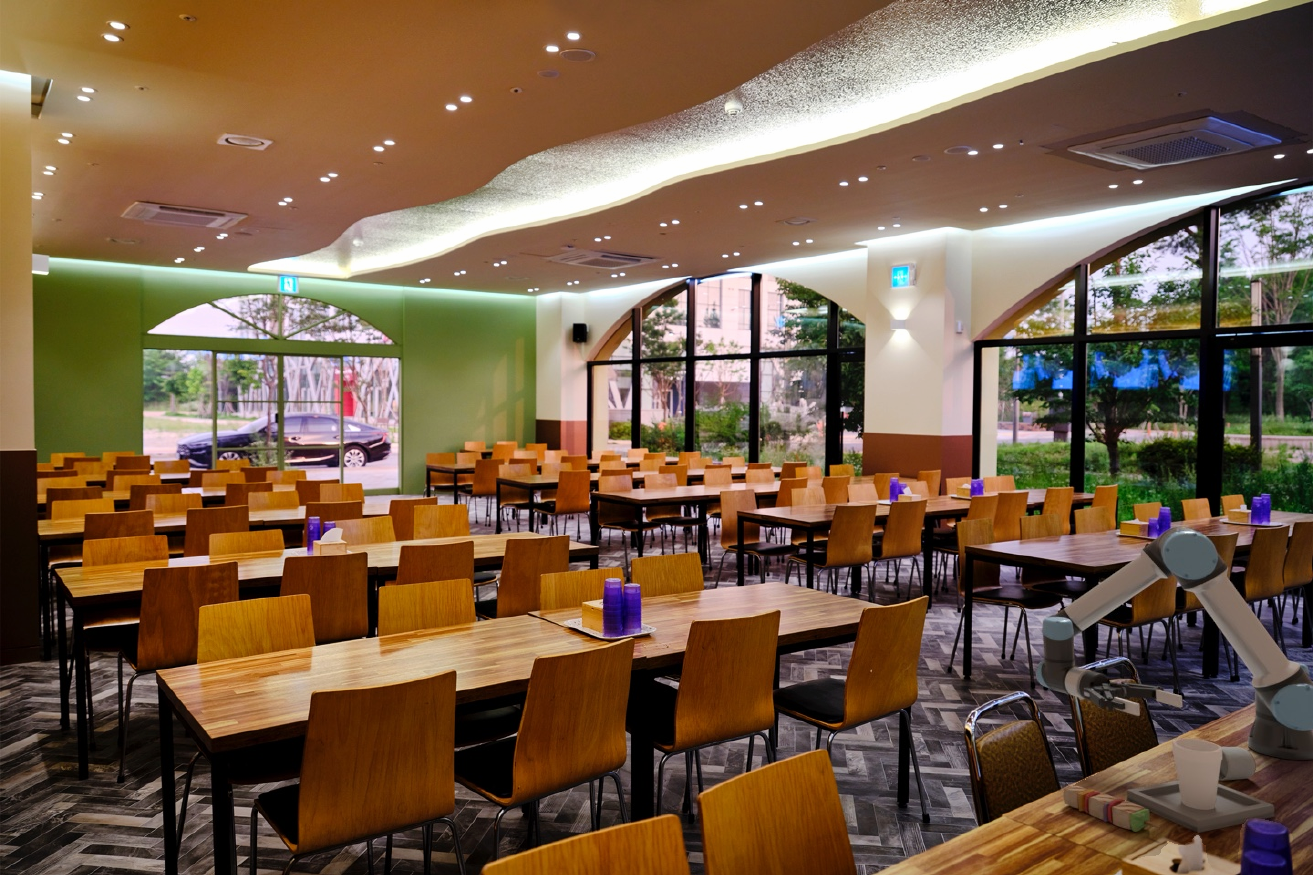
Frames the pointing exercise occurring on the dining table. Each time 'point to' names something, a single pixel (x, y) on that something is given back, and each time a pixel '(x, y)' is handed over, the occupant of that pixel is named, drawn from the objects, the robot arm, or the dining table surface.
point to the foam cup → (1197, 771)
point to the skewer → (1108, 808)
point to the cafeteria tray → (1226, 812)
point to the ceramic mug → (1236, 764)
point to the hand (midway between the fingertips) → (1160, 705)
